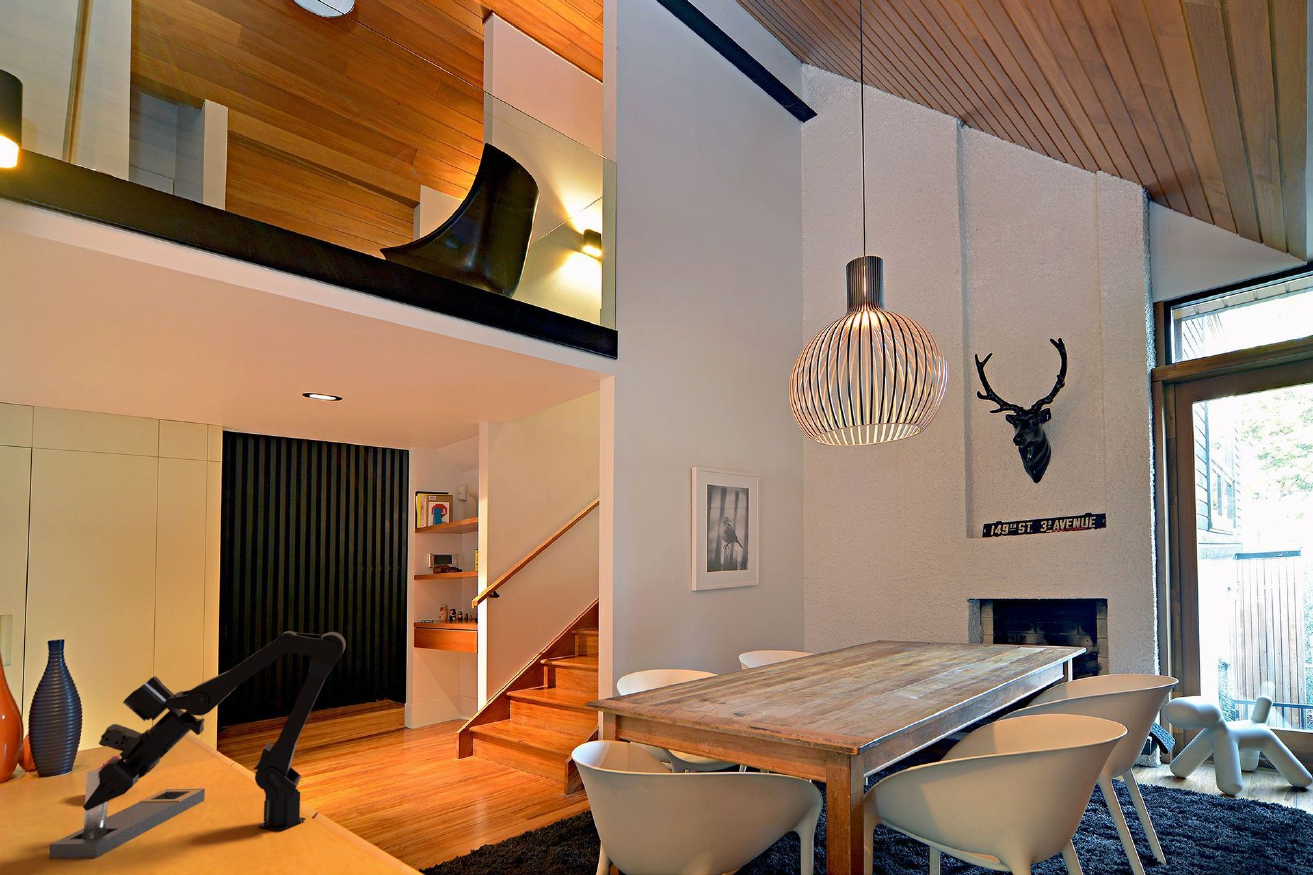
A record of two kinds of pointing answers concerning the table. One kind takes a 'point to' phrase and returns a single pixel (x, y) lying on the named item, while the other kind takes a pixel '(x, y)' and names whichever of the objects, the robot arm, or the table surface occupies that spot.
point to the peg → (94, 810)
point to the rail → (128, 823)
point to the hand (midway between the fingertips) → (93, 801)
